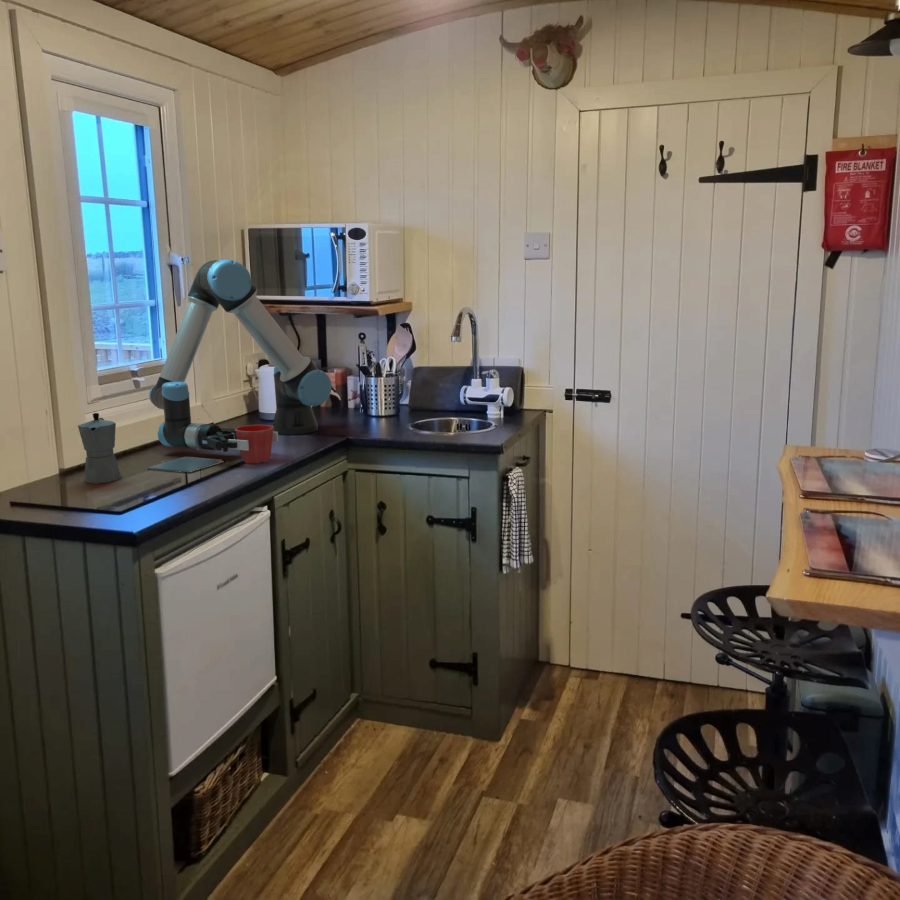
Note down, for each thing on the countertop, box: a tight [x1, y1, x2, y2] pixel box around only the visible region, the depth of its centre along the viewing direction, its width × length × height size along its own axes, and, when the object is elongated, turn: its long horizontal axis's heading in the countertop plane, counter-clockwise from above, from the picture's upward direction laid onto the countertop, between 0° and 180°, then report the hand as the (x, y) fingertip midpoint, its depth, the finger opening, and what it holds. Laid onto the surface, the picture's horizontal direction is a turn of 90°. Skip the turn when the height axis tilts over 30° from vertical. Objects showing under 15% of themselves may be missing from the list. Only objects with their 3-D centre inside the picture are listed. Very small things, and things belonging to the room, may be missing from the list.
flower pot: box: [234, 424, 273, 464], centre depth 252 cm, size 11×11×10 cm
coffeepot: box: [77, 412, 122, 485], centre depth 234 cm, size 15×9×18 cm, turn 13°
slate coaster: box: [147, 456, 221, 473], centre depth 248 cm, size 15×15×1 cm
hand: (263, 440), depth 250 cm, fingers open, 13 cm apart
